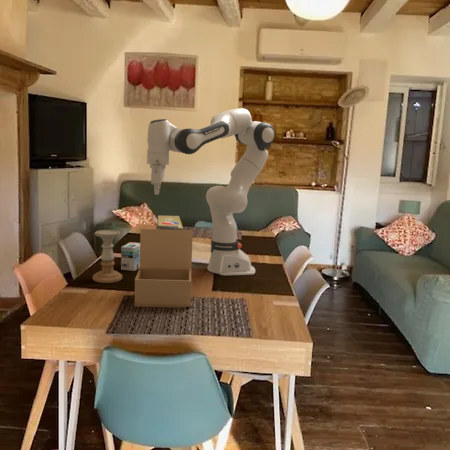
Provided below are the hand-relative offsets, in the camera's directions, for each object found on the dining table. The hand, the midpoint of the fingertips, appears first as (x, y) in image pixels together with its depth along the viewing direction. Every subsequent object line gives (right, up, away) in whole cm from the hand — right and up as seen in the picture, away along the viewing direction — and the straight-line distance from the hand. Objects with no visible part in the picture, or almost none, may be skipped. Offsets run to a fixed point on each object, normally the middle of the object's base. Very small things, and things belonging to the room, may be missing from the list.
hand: (157, 193), depth 191 cm
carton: (+5, -41, -16) cm, 44 cm away
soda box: (-5, -23, +77) cm, 81 cm away
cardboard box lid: (+5, -22, -11) cm, 25 cm away
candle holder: (-22, -36, +5) cm, 42 cm away
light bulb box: (-15, -33, +24) cm, 43 cm away
